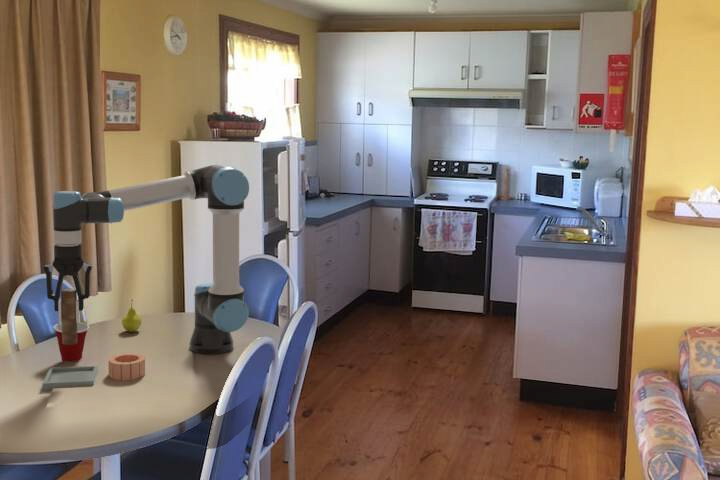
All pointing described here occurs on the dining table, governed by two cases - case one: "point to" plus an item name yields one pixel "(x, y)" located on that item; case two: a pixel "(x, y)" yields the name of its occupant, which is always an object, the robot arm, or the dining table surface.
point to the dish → (70, 376)
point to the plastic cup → (76, 349)
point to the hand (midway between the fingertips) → (69, 321)
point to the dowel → (69, 316)
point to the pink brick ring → (126, 366)
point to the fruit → (131, 321)
